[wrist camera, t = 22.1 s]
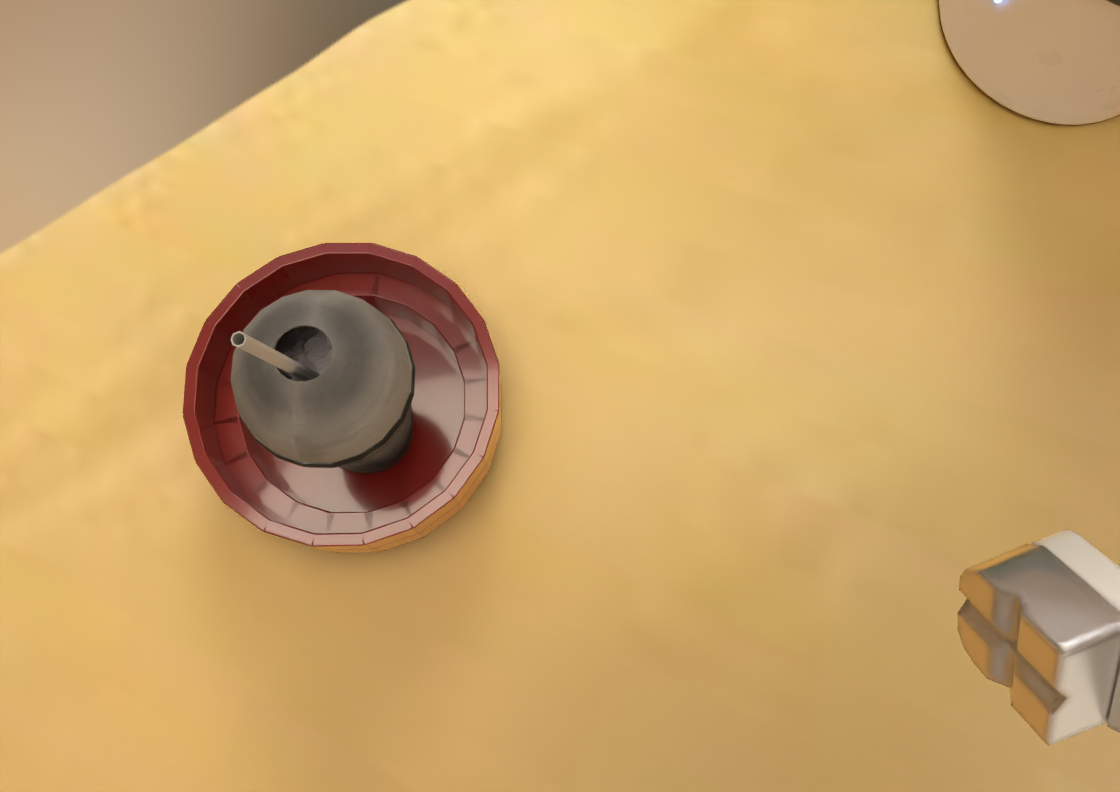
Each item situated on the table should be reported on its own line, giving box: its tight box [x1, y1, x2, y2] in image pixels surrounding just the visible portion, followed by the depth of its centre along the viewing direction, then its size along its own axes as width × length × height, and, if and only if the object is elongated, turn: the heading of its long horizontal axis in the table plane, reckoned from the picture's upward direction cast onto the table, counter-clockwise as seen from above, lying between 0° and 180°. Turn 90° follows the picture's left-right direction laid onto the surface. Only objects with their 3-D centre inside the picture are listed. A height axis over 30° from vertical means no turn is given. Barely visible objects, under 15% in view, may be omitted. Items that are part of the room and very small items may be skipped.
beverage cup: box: [231, 290, 415, 473], centre depth 37 cm, size 7×7×20 cm
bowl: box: [183, 243, 501, 553], centre depth 45 cm, size 15×15×6 cm
